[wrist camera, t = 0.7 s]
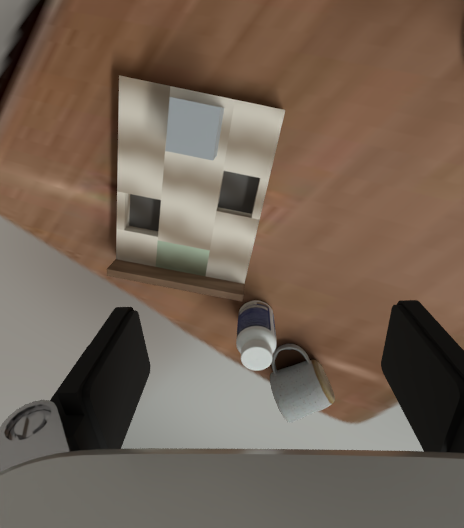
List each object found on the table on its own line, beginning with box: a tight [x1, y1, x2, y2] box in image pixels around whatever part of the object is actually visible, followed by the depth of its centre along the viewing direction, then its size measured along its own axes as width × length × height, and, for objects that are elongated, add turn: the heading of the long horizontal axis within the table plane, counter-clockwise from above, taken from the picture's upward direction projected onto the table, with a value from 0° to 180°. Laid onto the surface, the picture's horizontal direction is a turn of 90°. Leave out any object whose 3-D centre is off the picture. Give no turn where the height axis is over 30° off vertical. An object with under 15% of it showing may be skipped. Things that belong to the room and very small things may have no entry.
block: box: [165, 97, 224, 161], centre depth 33 cm, size 5×5×4 cm
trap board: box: [107, 75, 285, 301], centre depth 37 cm, size 23×18×5 cm
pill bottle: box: [237, 300, 276, 370], centre depth 43 cm, size 5×5×10 cm
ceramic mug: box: [270, 344, 335, 422], centre depth 48 cm, size 11×8×8 cm
